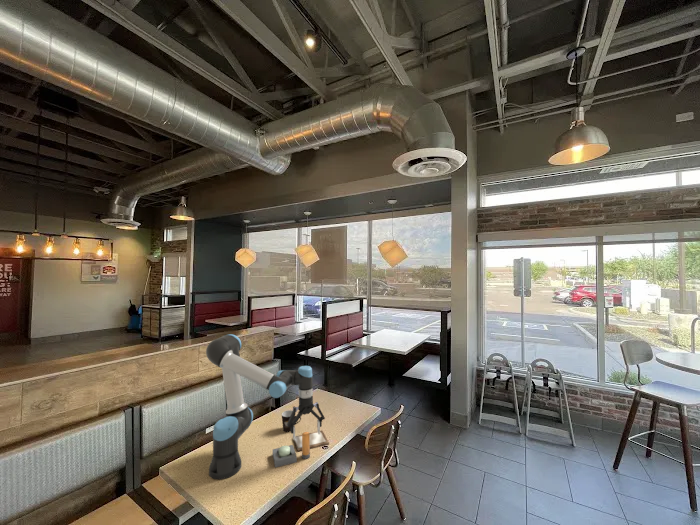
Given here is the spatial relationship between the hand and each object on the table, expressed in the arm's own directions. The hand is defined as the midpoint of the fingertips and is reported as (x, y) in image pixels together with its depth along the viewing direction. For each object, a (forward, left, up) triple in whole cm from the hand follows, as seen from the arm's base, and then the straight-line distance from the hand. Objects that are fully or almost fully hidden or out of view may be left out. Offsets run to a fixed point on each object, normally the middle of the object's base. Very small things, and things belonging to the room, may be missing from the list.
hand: (306, 436), depth 155 cm
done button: (-11, +3, -9) cm, 15 cm away
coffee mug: (-3, +30, -11) cm, 32 cm away
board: (+6, +13, -11) cm, 18 cm away
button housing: (-11, +3, -11) cm, 16 cm away
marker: (0, 0, -11) cm, 11 cm away
